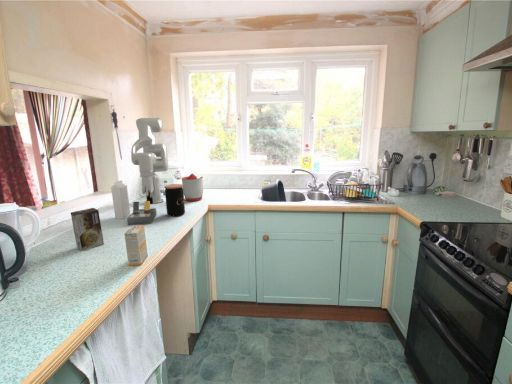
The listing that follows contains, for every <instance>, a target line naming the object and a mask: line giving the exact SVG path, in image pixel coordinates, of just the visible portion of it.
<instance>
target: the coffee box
mask: <svg viewBox="0 0 512 384" xmlns="http://www.w3.org/2000/svg"><path fill="white" fill-rule="evenodd" d="M70 216H71V217H70V218H71V222H72V227H73V233H74V239H75V244H76V248H77V249H78V250H80V251H82V252H83V251H86V250H90V249H93V248H95V247H96V248H97V247H98V246H101V245H104V244H105V242H104V236H103V229H102V224H101V219H100V218H101V217H100V212H99V209H96V208H95V207H90V208H85V209H82V210H76V211H71V212H70Z"/></svg>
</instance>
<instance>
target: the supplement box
mask: <svg viewBox="0 0 512 384" xmlns="http://www.w3.org/2000/svg"><path fill="white" fill-rule="evenodd" d="M124 241H125V247H126V249H125V250H126V256H127V263H128V267H135V266H136V267H138V266H142V265H143V263H144V262H145V261H146V259H147V258H148V248H147V247H148V246H147V237H146V229H145V224H140V225H131V226H130V227H129V228H128V229H127V230H126V231H124Z"/></svg>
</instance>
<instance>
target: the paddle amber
mask: <svg viewBox="0 0 512 384" xmlns="http://www.w3.org/2000/svg"><path fill="white" fill-rule="evenodd" d="M143 205H144V206H143V209H144V213H145V212H150V209H151V204H150V201H146V200H145V201H144V202H143Z"/></svg>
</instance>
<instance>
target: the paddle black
mask: <svg viewBox="0 0 512 384" xmlns="http://www.w3.org/2000/svg"><path fill="white" fill-rule="evenodd" d="M132 207H133V208H132V213H139V209H140V201H133V202H132Z"/></svg>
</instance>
